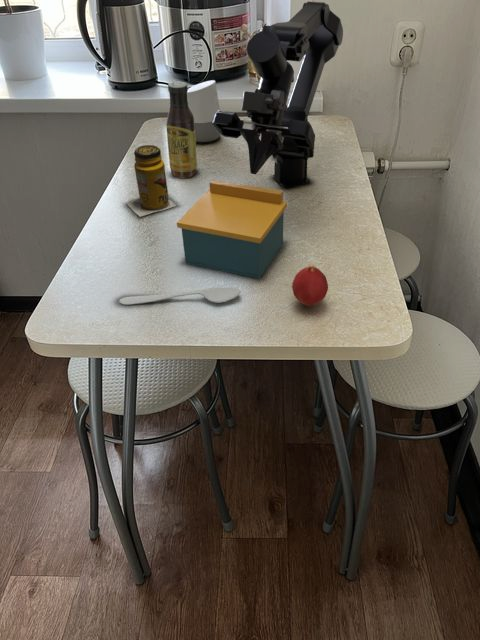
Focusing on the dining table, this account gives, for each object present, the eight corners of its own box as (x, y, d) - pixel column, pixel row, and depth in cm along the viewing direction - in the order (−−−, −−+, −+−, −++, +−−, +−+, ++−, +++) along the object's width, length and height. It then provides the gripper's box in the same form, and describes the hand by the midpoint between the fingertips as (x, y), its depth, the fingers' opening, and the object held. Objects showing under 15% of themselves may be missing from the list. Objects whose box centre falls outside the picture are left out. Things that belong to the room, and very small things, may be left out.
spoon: (241, 305, 97) (241, 297, 96) (117, 309, 96) (115, 301, 95) (241, 290, 100) (240, 282, 99) (121, 294, 100) (119, 286, 98)
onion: (289, 295, 99) (290, 255, 93) (323, 293, 99) (326, 253, 94) (294, 316, 94) (295, 275, 89) (329, 314, 95) (332, 273, 89)
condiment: (176, 206, 123) (169, 151, 115) (139, 217, 120) (130, 161, 112) (161, 193, 128) (154, 139, 120) (125, 203, 124) (115, 149, 116)
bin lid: (210, 193, 111) (208, 178, 109) (287, 206, 106) (287, 191, 104) (177, 227, 101) (175, 212, 99) (260, 243, 97) (260, 227, 95)
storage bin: (214, 230, 115) (211, 195, 110) (283, 243, 111) (283, 207, 106) (185, 263, 107) (181, 226, 101) (259, 278, 102) (258, 241, 97)
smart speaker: (196, 129, 155) (191, 74, 145) (228, 134, 152) (225, 77, 143) (180, 143, 148) (173, 85, 139) (212, 147, 146) (208, 89, 136)
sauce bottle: (166, 176, 134) (154, 86, 120) (178, 166, 138) (168, 77, 125) (191, 181, 132) (182, 90, 119) (203, 170, 136) (195, 80, 123)
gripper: (213, 64, 103) (191, 148, 103) (313, 74, 98) (291, 163, 98) (232, 95, 114) (213, 172, 113) (324, 106, 109) (303, 187, 108)
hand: (252, 173), depth 108 cm, fingers closed
